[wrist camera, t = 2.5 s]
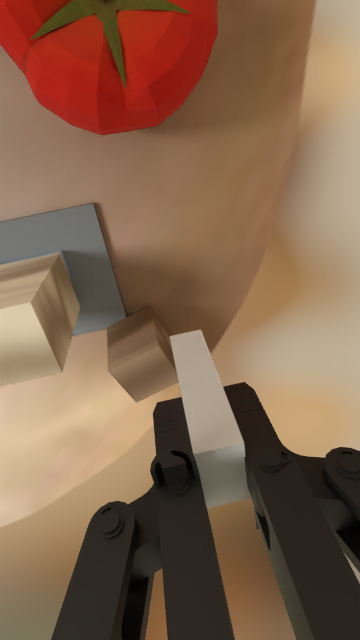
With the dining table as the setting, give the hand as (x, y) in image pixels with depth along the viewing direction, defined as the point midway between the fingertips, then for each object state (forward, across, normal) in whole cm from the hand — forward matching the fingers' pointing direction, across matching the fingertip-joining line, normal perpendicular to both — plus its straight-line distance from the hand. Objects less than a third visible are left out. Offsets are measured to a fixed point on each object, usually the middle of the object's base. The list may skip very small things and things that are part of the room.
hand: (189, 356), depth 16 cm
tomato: (+15, 0, +15) cm, 22 cm away
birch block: (+14, -10, 0) cm, 18 cm away
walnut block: (+15, -4, -7) cm, 17 cm away
